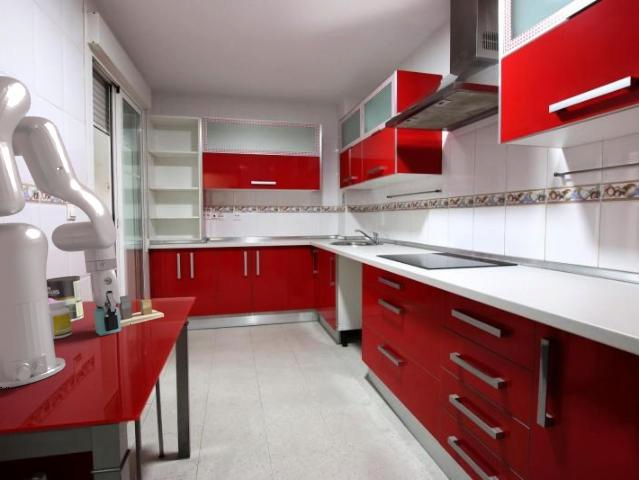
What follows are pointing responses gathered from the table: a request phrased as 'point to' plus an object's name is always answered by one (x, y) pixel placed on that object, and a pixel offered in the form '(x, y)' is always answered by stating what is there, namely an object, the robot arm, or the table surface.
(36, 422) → the table surface
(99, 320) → the pale teal cube
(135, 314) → the post stand
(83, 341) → the table surface
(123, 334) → the table surface
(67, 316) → the supplement bottle
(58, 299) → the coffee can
